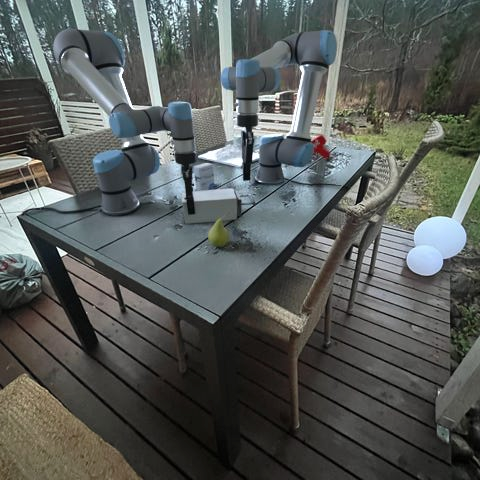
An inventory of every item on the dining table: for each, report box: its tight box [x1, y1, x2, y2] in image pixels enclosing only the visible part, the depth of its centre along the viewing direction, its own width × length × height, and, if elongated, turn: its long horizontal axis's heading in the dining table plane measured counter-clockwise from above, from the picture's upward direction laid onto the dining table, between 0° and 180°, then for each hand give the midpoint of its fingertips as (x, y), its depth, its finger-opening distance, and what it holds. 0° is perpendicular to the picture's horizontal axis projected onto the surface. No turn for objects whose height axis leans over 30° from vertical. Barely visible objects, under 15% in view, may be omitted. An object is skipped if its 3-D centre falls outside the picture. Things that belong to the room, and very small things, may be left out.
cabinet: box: [181, 187, 238, 225], centre depth 109 cm, size 20×10×9 cm, turn 100°
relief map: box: [197, 143, 259, 168], centre depth 180 cm, size 27×35×5 cm
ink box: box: [193, 162, 215, 191], centre depth 132 cm, size 8×5×12 cm, turn 135°
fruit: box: [207, 212, 230, 248], centre depth 89 cm, size 7×8×12 cm
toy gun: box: [311, 133, 331, 161], centre depth 176 cm, size 18×4×15 cm
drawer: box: [234, 190, 256, 217], centre depth 109 cm, size 25×9×7 cm, turn 100°
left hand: (191, 207), depth 108 cm, fingers closed on cabinet, 10 cm apart
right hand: (246, 179), depth 105 cm, fingers closed
